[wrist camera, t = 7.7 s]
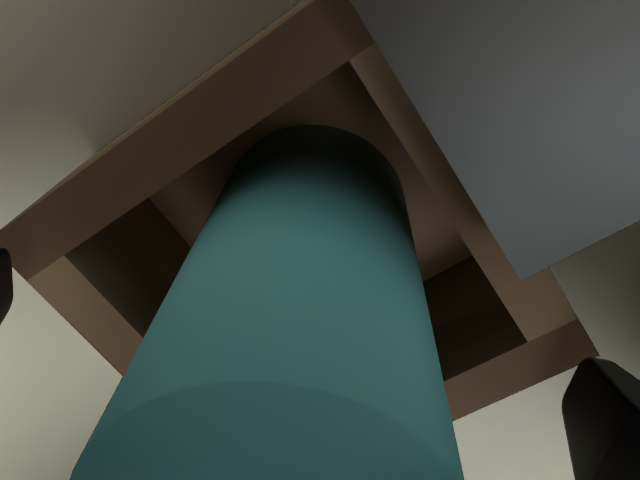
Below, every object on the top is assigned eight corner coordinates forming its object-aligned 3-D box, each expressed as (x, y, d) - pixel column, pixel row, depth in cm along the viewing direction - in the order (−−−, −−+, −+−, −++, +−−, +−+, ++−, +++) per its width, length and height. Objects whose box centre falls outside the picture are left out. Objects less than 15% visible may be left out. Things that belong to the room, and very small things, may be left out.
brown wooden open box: (734, 131, 13) (1030, 272, 7) (280, 369, 16) (243, 589, 11) (553, -331, 10) (834, -718, 4) (37, 89, 13) (-195, 194, 7)
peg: (438, 237, 13) (544, 588, 6) (293, 318, 14) (233, 693, 7) (340, 86, 12) (322, 304, 5) (187, 188, 13) (-19, 491, 6)
